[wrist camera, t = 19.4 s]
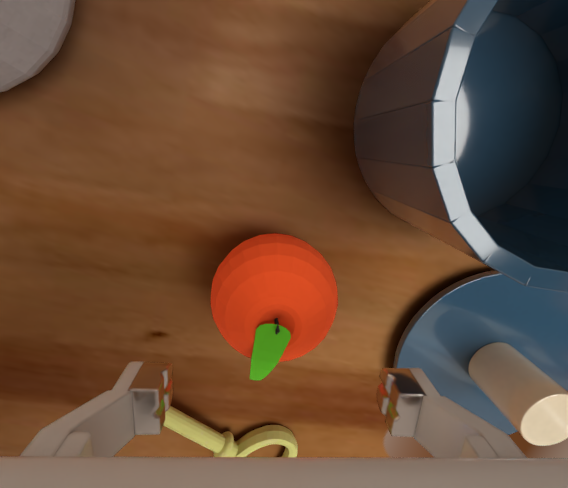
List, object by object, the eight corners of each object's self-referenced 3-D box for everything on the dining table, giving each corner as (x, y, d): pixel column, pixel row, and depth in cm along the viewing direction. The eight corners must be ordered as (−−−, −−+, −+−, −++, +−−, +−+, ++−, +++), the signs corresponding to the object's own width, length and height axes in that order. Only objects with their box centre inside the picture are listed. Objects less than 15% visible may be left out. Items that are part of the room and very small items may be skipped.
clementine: (302, 343, 23) (318, 425, 16) (204, 320, 22) (178, 398, 15) (340, 237, 21) (376, 281, 14) (234, 207, 20) (219, 239, 13)
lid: (562, 414, 26) (648, 492, 21) (393, 440, 26) (430, 526, 20) (586, 252, 22) (702, 291, 17) (386, 281, 22) (430, 331, 16)
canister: (554, 214, 22) (766, 265, 12) (360, 242, 21) (432, 315, 12) (579, -18, 18) (910, -188, 9) (344, 14, 18) (431, -125, 8)
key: (152, 380, 23) (141, 403, 21) (307, 431, 26) (311, 456, 24) (120, 454, 25) (107, 481, 23) (268, 495, 27) (268, 524, 25)
